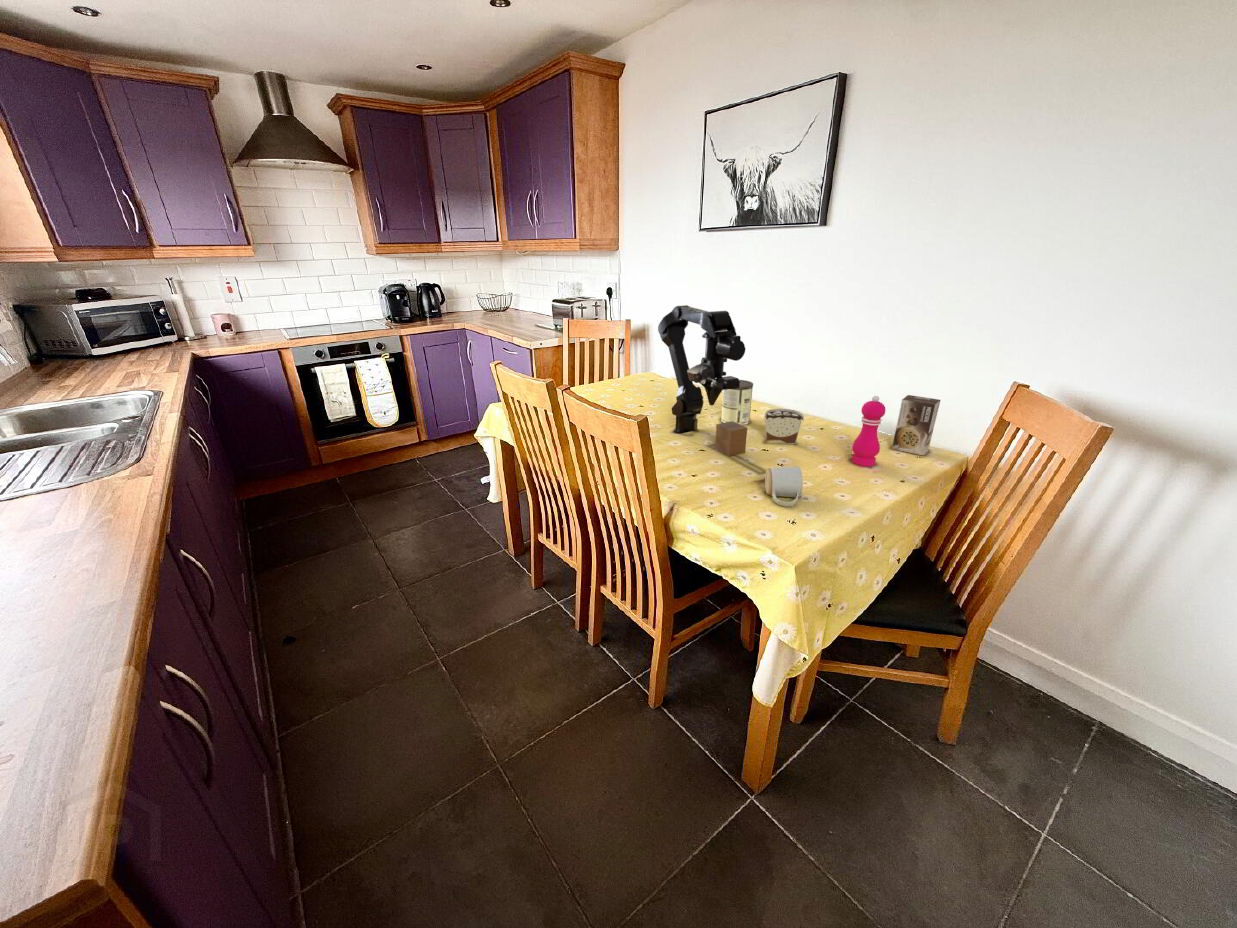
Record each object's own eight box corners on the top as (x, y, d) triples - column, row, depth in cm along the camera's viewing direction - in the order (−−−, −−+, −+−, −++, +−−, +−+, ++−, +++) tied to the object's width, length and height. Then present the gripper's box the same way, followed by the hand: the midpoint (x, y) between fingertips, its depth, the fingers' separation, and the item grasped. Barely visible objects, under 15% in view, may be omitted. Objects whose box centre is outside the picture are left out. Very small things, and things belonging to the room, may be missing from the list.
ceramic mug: (762, 487, 131) (765, 461, 128) (794, 488, 130) (798, 461, 127) (769, 507, 121) (773, 479, 118) (804, 508, 121) (809, 480, 117)
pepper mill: (875, 459, 148) (888, 393, 140) (878, 468, 141) (892, 400, 133) (848, 456, 150) (860, 391, 142) (850, 465, 144) (863, 398, 136)
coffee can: (726, 415, 188) (729, 378, 182) (753, 419, 183) (757, 381, 177) (716, 422, 180) (718, 384, 174) (743, 427, 175) (747, 388, 169)
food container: (796, 437, 165) (800, 408, 161) (800, 444, 159) (804, 414, 155) (758, 436, 166) (761, 407, 162) (761, 443, 161) (764, 413, 157)
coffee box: (929, 450, 154) (942, 399, 147) (923, 456, 149) (936, 404, 143) (896, 443, 159) (908, 394, 153) (890, 448, 155) (901, 398, 149)
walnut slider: (714, 448, 153) (716, 424, 150) (730, 445, 156) (732, 421, 153) (729, 456, 147) (731, 431, 144) (745, 452, 150) (747, 427, 147)
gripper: (675, 352, 154) (673, 401, 160) (711, 363, 138) (708, 417, 145) (704, 348, 158) (702, 396, 164) (743, 359, 143) (738, 411, 149)
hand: (711, 405), depth 155 cm, fingers closed
